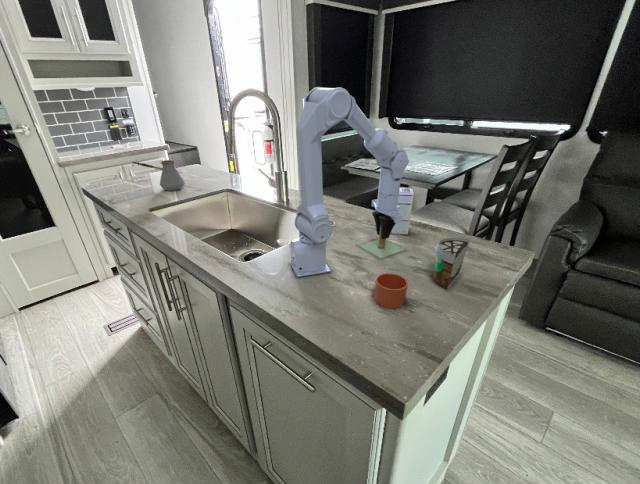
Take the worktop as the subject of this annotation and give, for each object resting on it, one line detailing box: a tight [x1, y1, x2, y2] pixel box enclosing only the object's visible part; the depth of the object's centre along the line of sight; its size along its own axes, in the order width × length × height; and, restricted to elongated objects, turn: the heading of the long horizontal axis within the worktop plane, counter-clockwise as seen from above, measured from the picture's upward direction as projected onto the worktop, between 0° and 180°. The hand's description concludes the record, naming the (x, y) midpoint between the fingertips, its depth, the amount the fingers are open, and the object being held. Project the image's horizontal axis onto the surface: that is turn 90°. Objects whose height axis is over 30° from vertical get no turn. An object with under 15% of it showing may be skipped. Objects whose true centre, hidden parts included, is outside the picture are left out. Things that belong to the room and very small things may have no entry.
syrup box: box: [390, 186, 415, 235], centre depth 107 cm, size 6×6×14 cm
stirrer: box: [378, 224, 387, 249], centre depth 97 cm, size 2×2×9 cm
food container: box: [433, 236, 470, 290], centre depth 82 cm, size 12×6×10 cm, turn 141°
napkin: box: [358, 238, 405, 259], centre depth 100 cm, size 10×10×1 cm
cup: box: [373, 272, 409, 309], centre depth 76 cm, size 7×7×5 cm
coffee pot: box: [131, 159, 186, 192], centre depth 150 cm, size 21×12×15 cm, turn 131°
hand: (382, 236), depth 98 cm, fingers closed on stirrer, 2 cm apart
